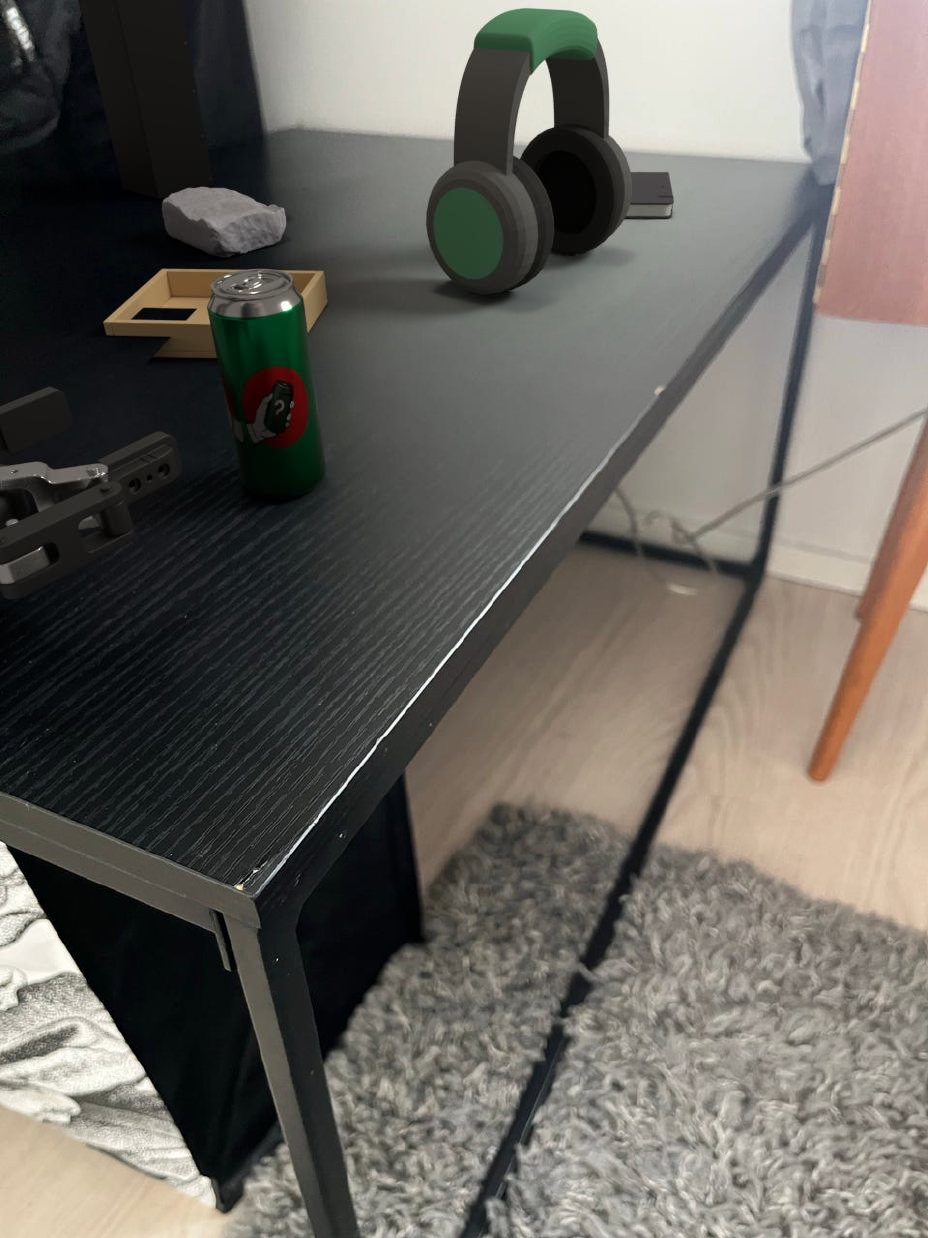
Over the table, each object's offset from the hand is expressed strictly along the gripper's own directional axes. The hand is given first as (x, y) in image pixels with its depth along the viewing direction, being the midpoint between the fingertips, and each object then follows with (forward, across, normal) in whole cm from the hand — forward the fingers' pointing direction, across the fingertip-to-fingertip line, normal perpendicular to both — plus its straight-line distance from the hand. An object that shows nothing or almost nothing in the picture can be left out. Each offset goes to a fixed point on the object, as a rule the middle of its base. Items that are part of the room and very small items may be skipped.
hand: (116, 427), depth 46 cm
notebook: (+71, +18, +8) cm, 74 cm away
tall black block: (+52, +62, +8) cm, 81 cm away
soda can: (+10, 0, +8) cm, 13 cm away
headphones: (+50, +9, +8) cm, 51 cm away
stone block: (+42, +40, +8) cm, 59 cm away
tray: (+25, +22, +8) cm, 34 cm away
